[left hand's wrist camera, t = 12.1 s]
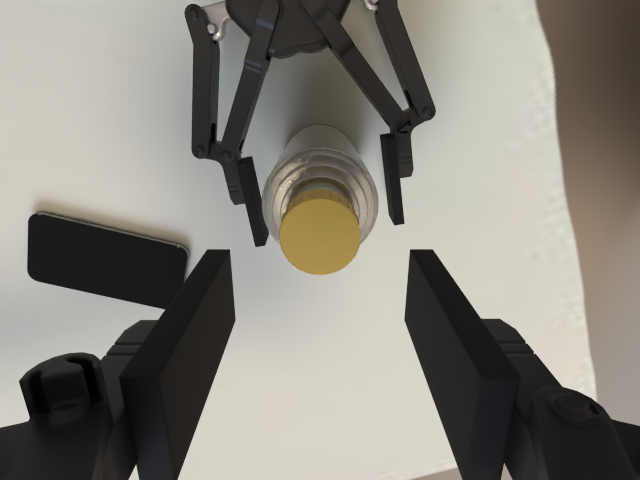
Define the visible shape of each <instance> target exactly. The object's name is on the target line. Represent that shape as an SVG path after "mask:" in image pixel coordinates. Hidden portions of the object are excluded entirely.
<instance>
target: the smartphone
mask: <svg viewBox="0 0 640 480" xmlns="http://www.w3.org/2000/svg"><path fill="white" fill-rule="evenodd" d="M188 260H189V252H188V250H187V249H186V248H185V247H184V246H182V245H180V244H176V243H171V242H167V241H163V240H158V239H154V238H150V237H146V236H141V235H137V234H133V233H129V232H124V231H120V230H116V229H112V228H107V227H103V226H99V225H95V224H90V223H86V222H82V221H77V220H73V219H69V218H65V217H60V216H56V215H52V214H48V213H43V212H39V213H36V214H34V215H32V216H31V217H30V218H29V221H28V265H27V271H28V274H29V276H30V277H31V278H32V279H34V280H35V281H38V282H43V283H47V284H52V285H57V286H61V287H66V288H70V289H75V290H79V291H84V292H88V293H93V294H98V295H102V296H107V297H111V298H116V299H120V300H125V301H129V302H134V303H139V304H143V305H148V306H152V307H157V308H161V309H166V308H167V307H168V305H169V304H170V302H171V301H172V300H173V298H174V297H175V295H176V294H177V292H178V291H179V289H180V288H181V287H182V285H183V284H184V282H185V279H186V273H187V266H188Z"/></svg>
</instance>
